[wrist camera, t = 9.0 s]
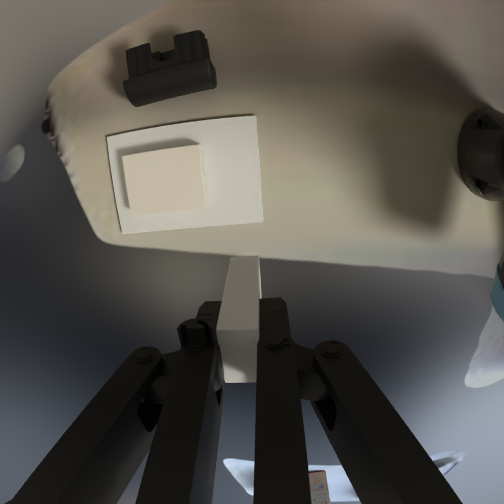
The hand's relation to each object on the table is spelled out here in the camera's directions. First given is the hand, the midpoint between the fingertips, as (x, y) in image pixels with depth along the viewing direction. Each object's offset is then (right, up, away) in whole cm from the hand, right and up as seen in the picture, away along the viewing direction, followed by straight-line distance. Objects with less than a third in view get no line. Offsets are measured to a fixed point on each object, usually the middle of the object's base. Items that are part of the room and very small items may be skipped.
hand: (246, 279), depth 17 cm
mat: (-9, +11, +22) cm, 26 cm away
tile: (-11, +11, +20) cm, 25 cm away
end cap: (-9, +24, +17) cm, 31 cm away
